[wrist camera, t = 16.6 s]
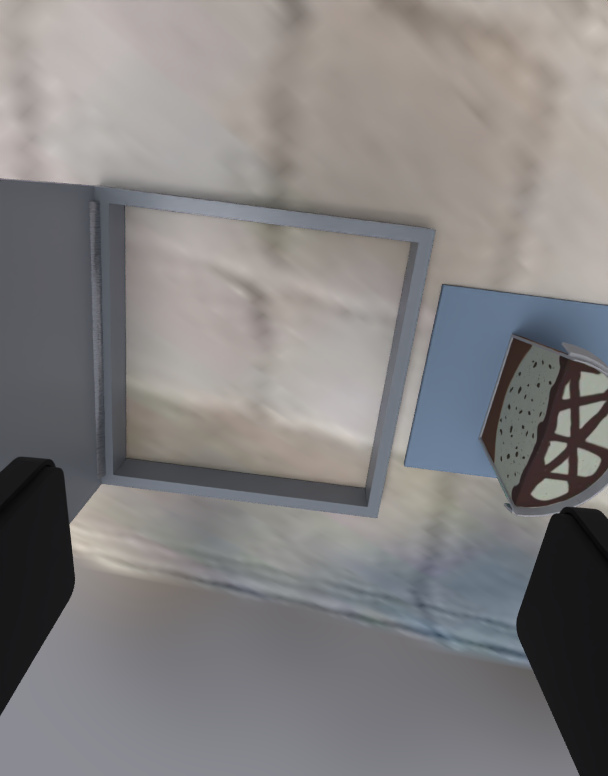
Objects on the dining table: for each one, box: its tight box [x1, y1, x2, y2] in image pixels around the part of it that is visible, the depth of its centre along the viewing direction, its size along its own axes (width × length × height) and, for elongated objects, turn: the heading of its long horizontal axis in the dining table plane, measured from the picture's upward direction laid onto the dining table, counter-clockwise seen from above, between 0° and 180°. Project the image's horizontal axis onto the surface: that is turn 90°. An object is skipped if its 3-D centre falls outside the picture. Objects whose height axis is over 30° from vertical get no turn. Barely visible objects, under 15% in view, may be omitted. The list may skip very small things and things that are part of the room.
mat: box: [404, 284, 608, 478], centre depth 42 cm, size 16×16×1 cm
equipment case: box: [0, 178, 436, 524], centre depth 33 cm, size 24×25×20 cm
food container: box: [478, 334, 608, 517], centre depth 37 cm, size 12×6×10 cm, turn 171°
